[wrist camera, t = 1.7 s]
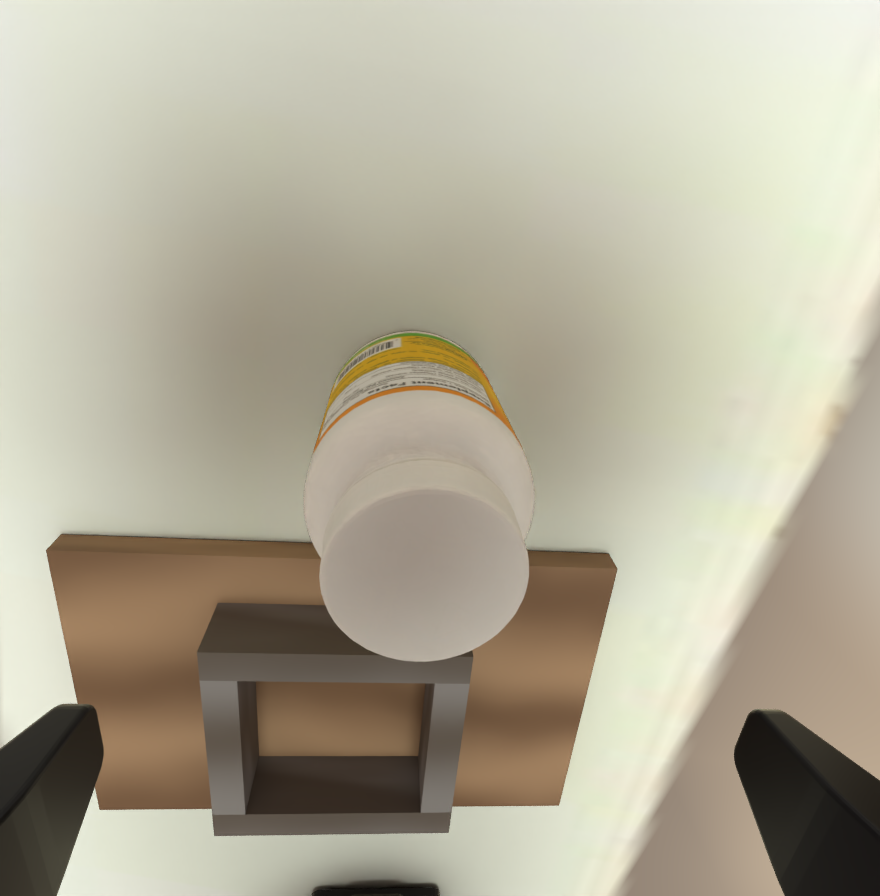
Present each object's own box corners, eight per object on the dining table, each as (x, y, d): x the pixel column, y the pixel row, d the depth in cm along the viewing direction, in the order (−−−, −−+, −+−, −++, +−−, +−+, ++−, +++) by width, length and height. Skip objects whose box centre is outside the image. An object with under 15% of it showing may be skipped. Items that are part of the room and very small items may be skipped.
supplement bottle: (464, 493, 21) (515, 708, 13) (316, 460, 20) (257, 669, 12) (512, 351, 19) (613, 489, 11) (350, 308, 18) (311, 419, 10)
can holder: (553, 785, 28) (573, 862, 25) (110, 787, 26) (70, 872, 23) (608, 553, 23) (643, 613, 20) (60, 534, 21) (1, 596, 18)
